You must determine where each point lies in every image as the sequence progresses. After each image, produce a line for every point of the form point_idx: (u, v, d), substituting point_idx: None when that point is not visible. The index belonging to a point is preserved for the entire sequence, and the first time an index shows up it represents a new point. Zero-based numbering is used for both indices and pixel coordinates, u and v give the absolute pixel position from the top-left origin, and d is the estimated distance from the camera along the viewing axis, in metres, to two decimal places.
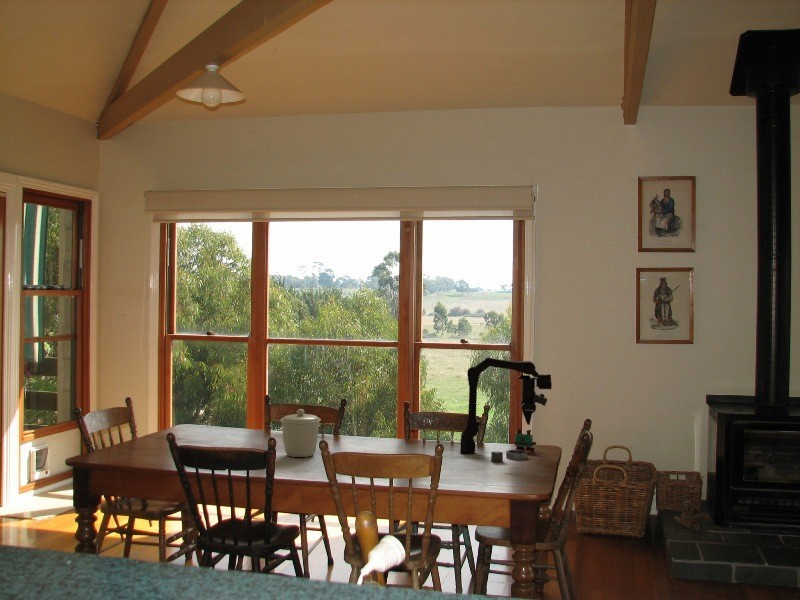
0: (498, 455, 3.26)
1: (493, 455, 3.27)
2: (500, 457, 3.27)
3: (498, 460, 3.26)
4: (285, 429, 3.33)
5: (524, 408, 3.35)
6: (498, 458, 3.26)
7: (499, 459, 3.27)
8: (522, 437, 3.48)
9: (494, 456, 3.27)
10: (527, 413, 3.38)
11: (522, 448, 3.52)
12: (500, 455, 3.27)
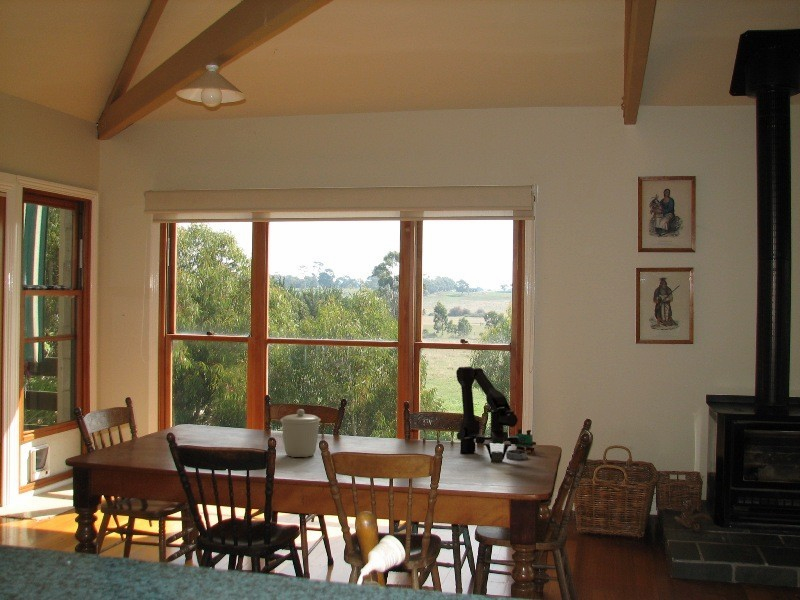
0: (498, 455, 3.26)
1: (493, 455, 3.27)
2: (500, 457, 3.27)
3: (498, 460, 3.26)
4: (285, 429, 3.33)
5: None
6: (498, 458, 3.26)
7: (499, 458, 3.27)
8: (522, 437, 3.48)
9: (494, 456, 3.27)
10: None
11: (522, 448, 3.52)
12: (500, 455, 3.27)
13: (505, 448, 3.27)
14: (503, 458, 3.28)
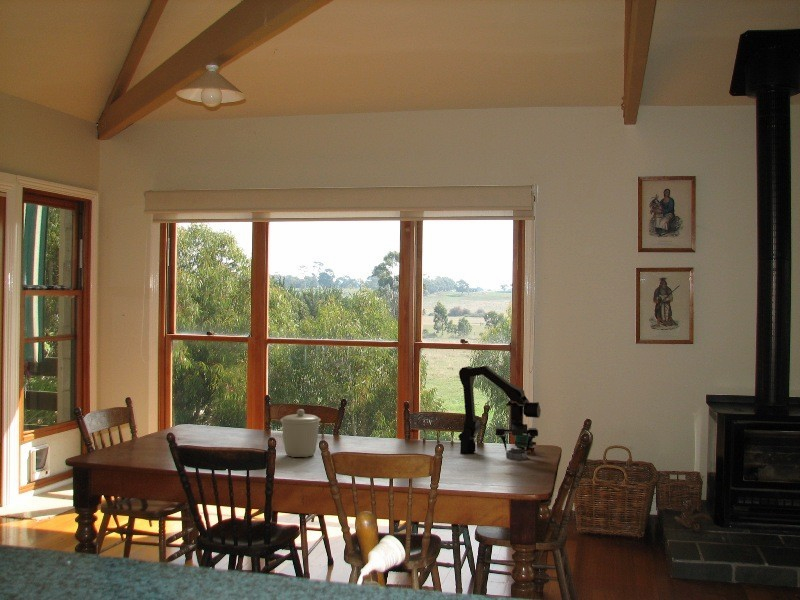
0: (517, 451, 3.35)
1: (512, 451, 3.35)
2: (519, 453, 3.35)
3: None
4: (285, 429, 3.33)
5: (495, 431, 3.40)
6: None
7: None
8: (522, 437, 3.48)
9: (513, 452, 3.35)
10: None
11: (522, 448, 3.52)
12: (519, 451, 3.35)
13: (529, 440, 3.35)
14: (527, 450, 3.36)
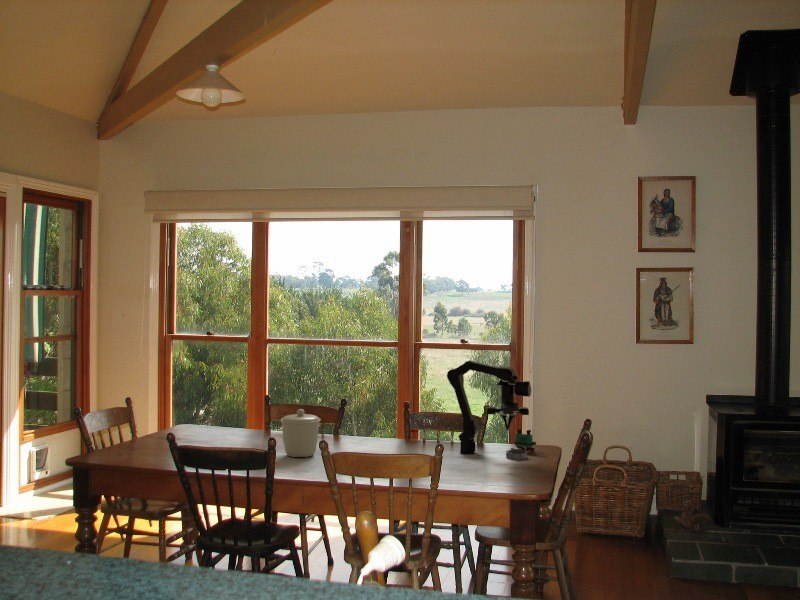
0: (517, 451, 3.35)
1: (512, 451, 3.35)
2: (519, 453, 3.35)
3: None
4: (285, 429, 3.33)
5: None
6: None
7: None
8: (522, 437, 3.48)
9: (513, 452, 3.35)
10: None
11: (522, 448, 3.52)
12: (519, 451, 3.35)
13: (510, 419, 3.38)
14: (508, 429, 3.39)
